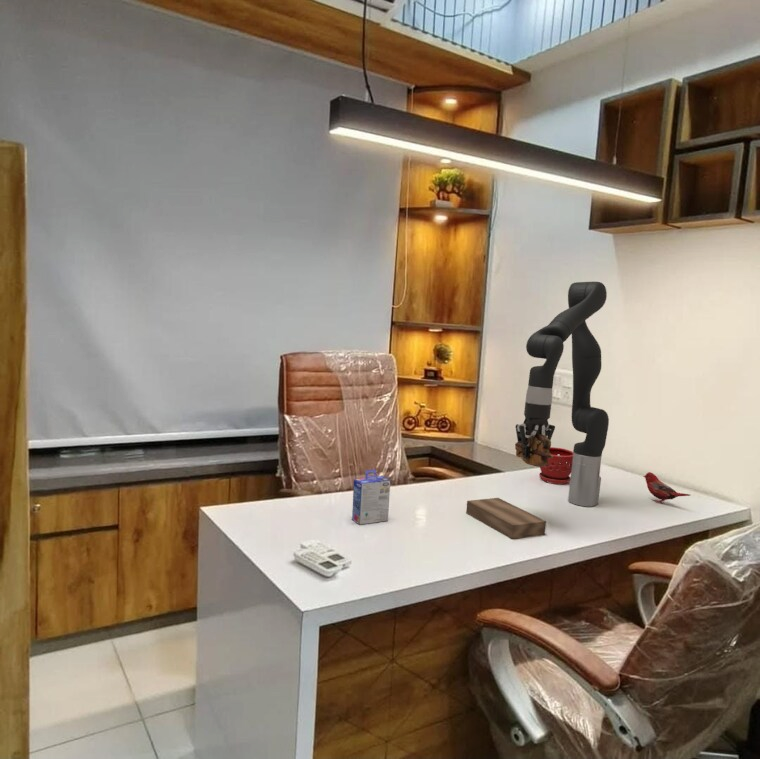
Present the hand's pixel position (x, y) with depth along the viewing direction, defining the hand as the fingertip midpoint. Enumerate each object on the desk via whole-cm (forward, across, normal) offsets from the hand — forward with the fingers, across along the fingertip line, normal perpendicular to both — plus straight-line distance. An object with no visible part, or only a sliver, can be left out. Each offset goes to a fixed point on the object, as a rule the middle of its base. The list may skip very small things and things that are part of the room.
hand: (531, 457), depth 180 cm
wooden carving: (+3, 0, 0) cm, 3 cm away
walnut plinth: (+20, +7, -1) cm, 21 cm away
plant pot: (+19, -44, -34) cm, 58 cm away
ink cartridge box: (+21, +45, -15) cm, 52 cm away
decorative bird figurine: (+19, -63, 0) cm, 65 cm away
